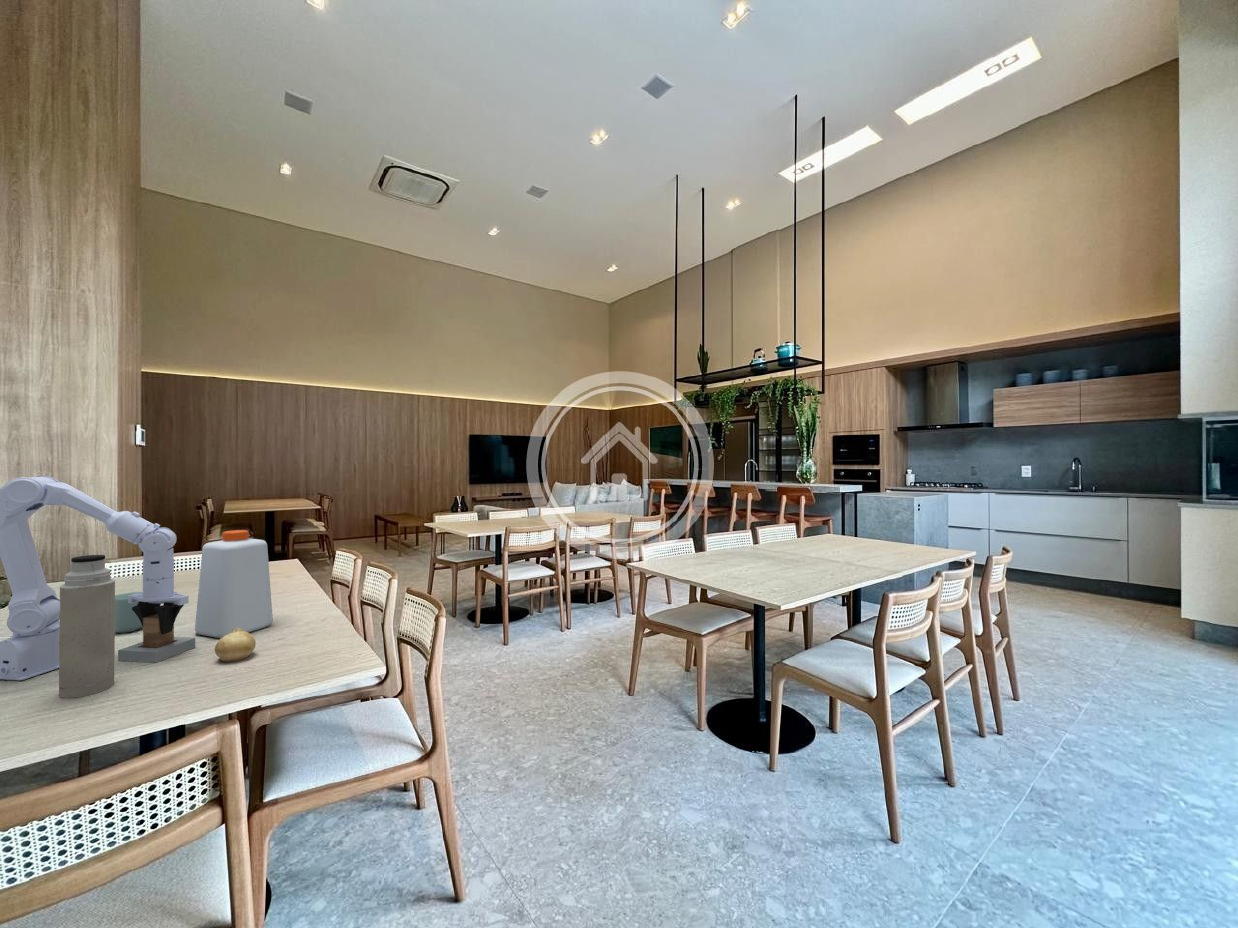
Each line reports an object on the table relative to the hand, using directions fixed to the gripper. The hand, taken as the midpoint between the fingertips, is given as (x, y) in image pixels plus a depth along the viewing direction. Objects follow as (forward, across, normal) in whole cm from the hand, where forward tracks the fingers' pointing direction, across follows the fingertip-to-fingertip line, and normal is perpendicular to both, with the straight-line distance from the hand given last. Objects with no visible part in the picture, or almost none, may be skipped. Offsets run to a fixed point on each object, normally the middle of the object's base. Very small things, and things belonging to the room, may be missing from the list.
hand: (158, 632), depth 125 cm
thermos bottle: (+6, -5, +19) cm, 20 cm away
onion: (+6, -21, 0) cm, 22 cm away
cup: (+6, +25, -14) cm, 29 cm away
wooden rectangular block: (+3, 0, 0) cm, 3 cm away
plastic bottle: (+6, -3, -19) cm, 20 cm away
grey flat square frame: (+5, 0, 0) cm, 5 cm away
